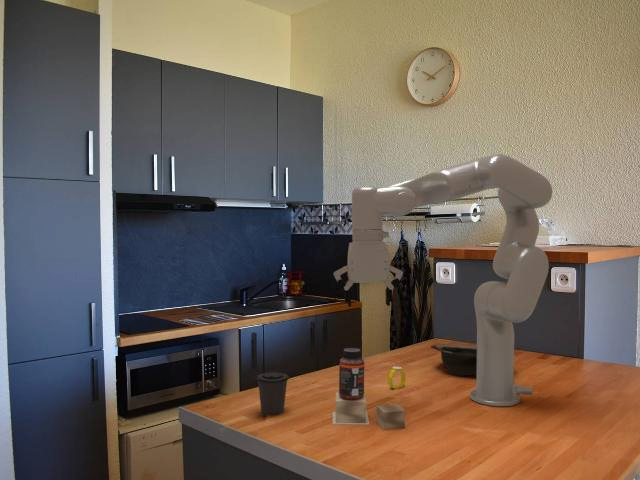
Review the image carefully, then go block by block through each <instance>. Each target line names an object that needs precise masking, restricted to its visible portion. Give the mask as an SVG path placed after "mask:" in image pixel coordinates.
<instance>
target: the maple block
mask: <svg viewBox="0 0 640 480" xmlns="http://www.w3.org/2000/svg"><path fill="white" fill-rule="evenodd" d="M335 412H336V423H366V412H367V398H366V393H365V392H364V396H363V397H362V398H361V399H357V400H348V399H343V398H341V397H340V395H339V391H338V392H337V391H336V392H335Z"/></svg>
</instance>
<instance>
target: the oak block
mask: <svg viewBox="0 0 640 480" xmlns="http://www.w3.org/2000/svg"><path fill="white" fill-rule="evenodd" d="M375 412H376V424H377V425H378V426H379V427H380V428H381V429H382V430H383V431H387V430H388V431H389V430H399V429H400V430H402V429H405V428H406V427H405V425H406V424H405V423H406V421H405V420H406V419H405V418H406V411H405V410H404V408H402V407H401V406H400V405H398V404H397V403H390V404H379V405H376V411H375Z"/></svg>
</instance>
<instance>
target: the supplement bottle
mask: <svg viewBox="0 0 640 480" xmlns="http://www.w3.org/2000/svg"><path fill="white" fill-rule="evenodd" d="M338 365H339V367H338V368H339V372H338V373H339V374H338V377H339V378H338V380H339V381H338V392H339V395H340V397H341V398H343V399H348V400H357V399H361V398H362V397H363V396H364V393H365V360H364V359H363V358H362V356H361V349H360V348H355V347H349V348H348V347H347V348H344V349H343V357H341V358H340V359H339V364H338Z"/></svg>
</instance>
